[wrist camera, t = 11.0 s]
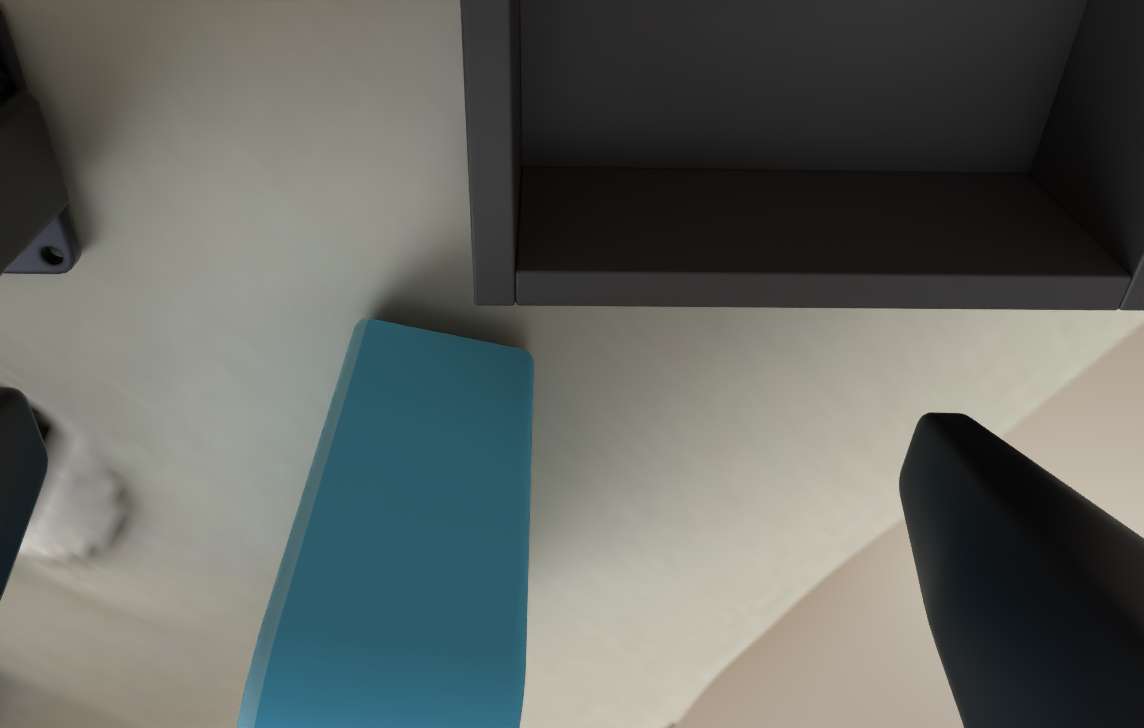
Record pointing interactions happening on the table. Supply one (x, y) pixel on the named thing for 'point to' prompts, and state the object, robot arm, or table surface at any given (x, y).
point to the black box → (806, 153)
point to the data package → (406, 545)
